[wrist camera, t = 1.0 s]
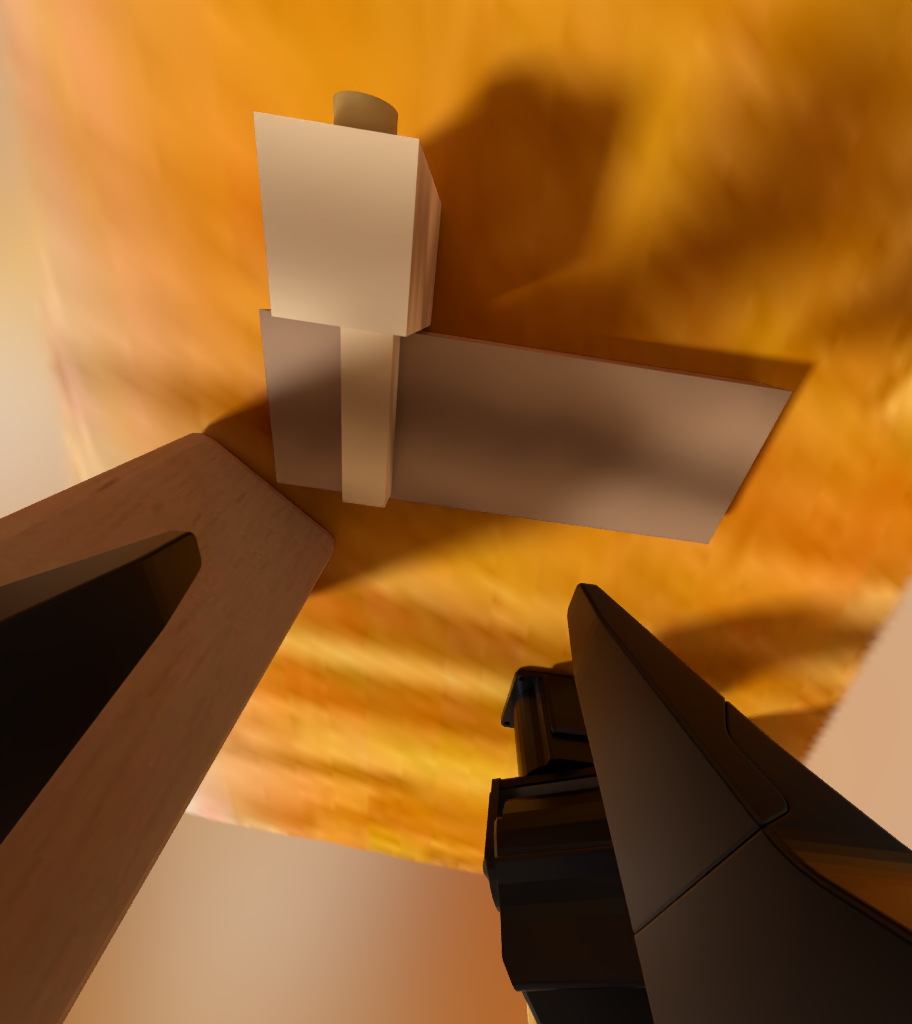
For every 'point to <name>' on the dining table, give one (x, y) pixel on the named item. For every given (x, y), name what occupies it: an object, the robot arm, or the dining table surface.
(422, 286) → the block
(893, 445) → the dining table surface
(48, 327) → the dining table surface
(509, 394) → the walnut board
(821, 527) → the dining table surface
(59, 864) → the wooden block
